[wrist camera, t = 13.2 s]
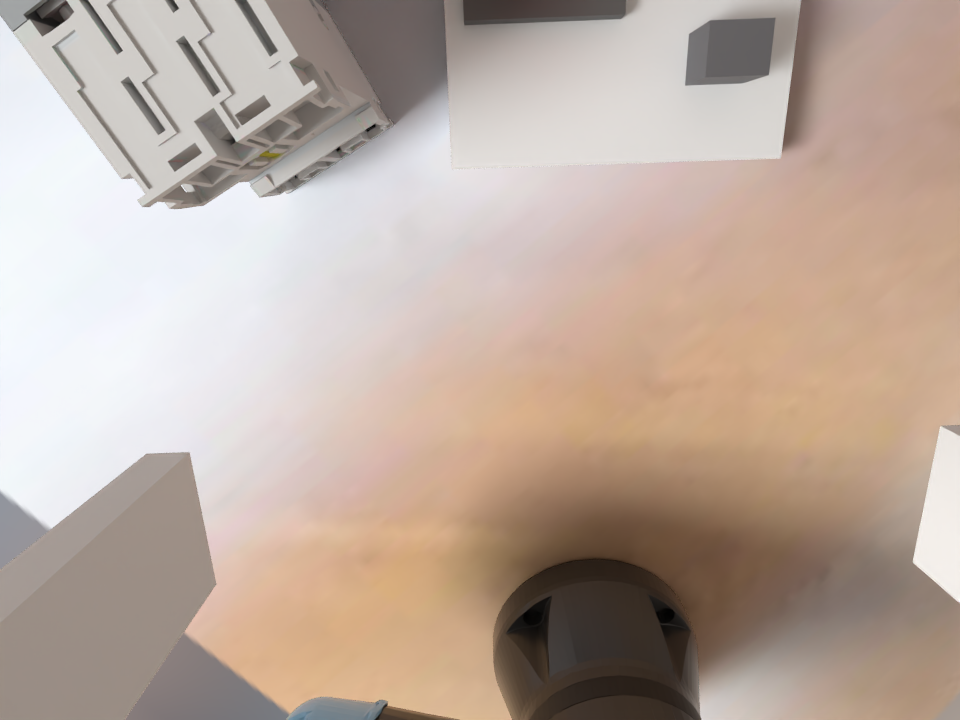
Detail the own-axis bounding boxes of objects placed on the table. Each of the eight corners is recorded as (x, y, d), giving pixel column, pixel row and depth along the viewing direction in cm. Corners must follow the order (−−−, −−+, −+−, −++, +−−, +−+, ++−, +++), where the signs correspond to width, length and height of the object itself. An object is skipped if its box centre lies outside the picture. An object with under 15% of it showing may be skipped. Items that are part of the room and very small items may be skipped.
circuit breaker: (241, -137, 29) (5, -426, 15) (394, 125, 33) (322, 95, 19) (129, -49, 30) (-187, -237, 16) (288, 193, 34) (147, 213, 20)
